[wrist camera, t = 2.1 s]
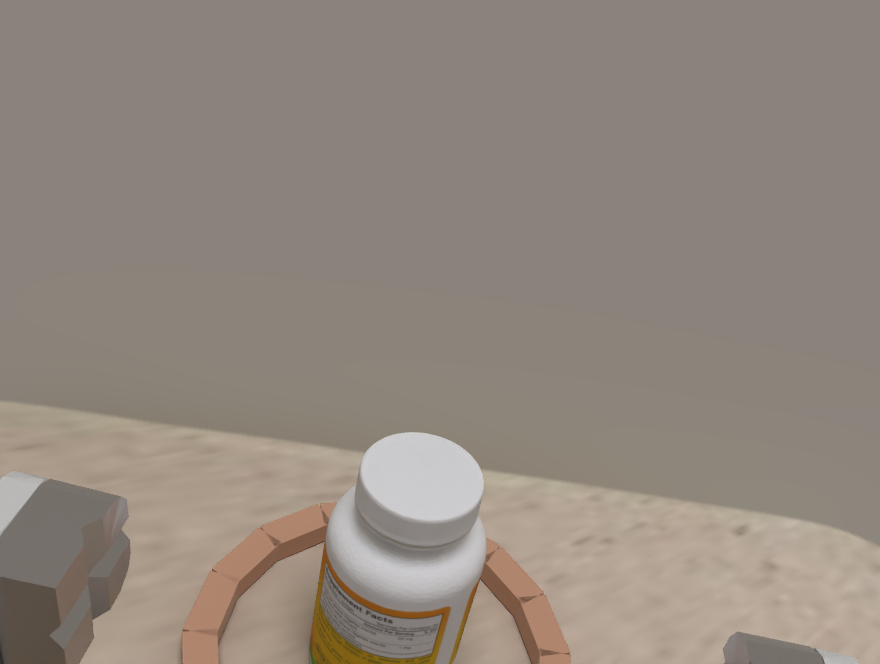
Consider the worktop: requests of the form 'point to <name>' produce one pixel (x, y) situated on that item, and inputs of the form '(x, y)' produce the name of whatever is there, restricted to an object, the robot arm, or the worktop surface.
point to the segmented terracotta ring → (311, 529)
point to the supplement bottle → (401, 556)
